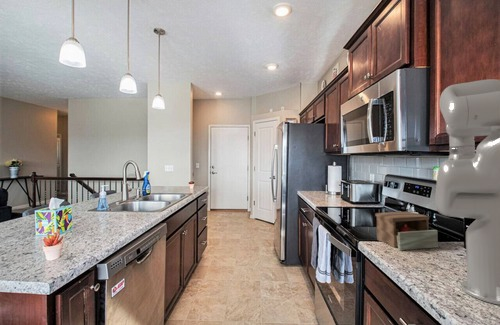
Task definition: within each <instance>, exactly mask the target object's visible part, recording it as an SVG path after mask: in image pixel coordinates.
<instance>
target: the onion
mask: <svg viewBox="0 0 500 325" xmlns="http://www.w3.org/2000/svg"><path fill="white" fill-rule="evenodd" d="M408 231H412V230H411V229H410V228H409V227H408V226H407V225H404V226H403V227H401V228H400V229H399V232H408Z"/></svg>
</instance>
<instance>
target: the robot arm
mask: <svg viewBox="0 0 500 325" xmlns="http://www.w3.org/2000/svg"><path fill="white" fill-rule="evenodd" d="M439 110H440V112H441V115H442V117H443V119H444V122H445V130H446V131H445V132H446V134H448V139H449V140H448V142H449V149H448V152H449V155H448V159H446V160H444V161H443V162H442V163H441V164H440V166H439V167H438V169H437V176H436V186H435V197H434V205H435V208H436V210H437V212H438V213H439V214H440V215H443V216H445V217H452V218H466V219H473V220H474V219H475V220H474V221H473V222H472V223H470V225H468V227H467V229H466V231H465V250H466V251H465V254H466V256H465V258H466V277H467V278H466V279H465V280H463V281H462V282H460V288H461V290H462V291H463V292H464V293H465V294H467V295H469V296H471V297H473V298H474V299H478V300H480V301H483V302H487V303H490V304H492V305H499V306H500V79H495V78H494V79H493V78H492V79H491V78H489V79H481V80H480V79H479V80H474V81H470V82H469V81H468V82H462V83H456V84H451V85H449V86H447V87H446V88H445V89H444V90H443V91H442V92H441V95H440V96H439ZM483 136H486V137H485V138H484V139H483V140H481V141H480V143H478V145H477V147H475V146H476V144H475V140H474V139H475V137H483Z"/></svg>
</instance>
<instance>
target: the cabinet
mask: <svg viewBox="0 0 500 325" xmlns="http://www.w3.org/2000/svg"><path fill="white" fill-rule="evenodd" d="M409 211H410V210H409ZM409 211H405V210H404V211H393V212H391V211H390V212H375V214H374V215H375V217H376V241H379V242H381V241H382V242H381V243H383V242H384V243H383V244H385V243H386V244H385V245H387V244H388V246H389V245H390V246H389V247H392V248H395V247H396V248H397V246H396V229H399V228H401V227H403V226H404V225H407V226H408V227H409V228H411V229H414V230H417V231H423V230H430V226H429V220H430V216H429V215H426V214H421V213H418V212H417V213H418V214H417V213H413V212H414V211H410V212H409ZM396 248H395V249H396Z"/></svg>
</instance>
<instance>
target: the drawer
mask: <svg viewBox="0 0 500 325" xmlns="http://www.w3.org/2000/svg"><path fill="white" fill-rule="evenodd" d="M399 229H400V228H399ZM399 229H396V248H398V250H400V251H403V250H416V249H429V248H438V246H439V240H438V230H437V229H429V230H423V231H417V230H414V229H411V228H410V229H411V230H412V231H408V232H399Z"/></svg>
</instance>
